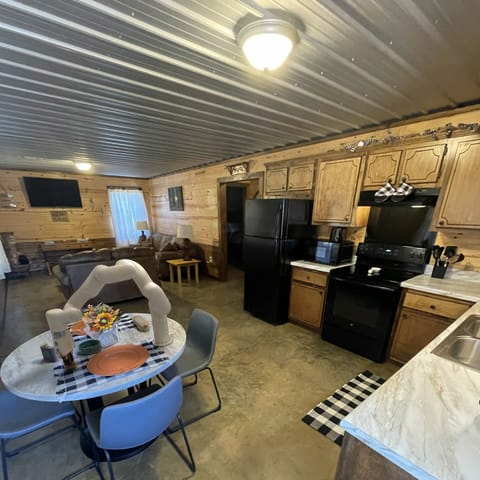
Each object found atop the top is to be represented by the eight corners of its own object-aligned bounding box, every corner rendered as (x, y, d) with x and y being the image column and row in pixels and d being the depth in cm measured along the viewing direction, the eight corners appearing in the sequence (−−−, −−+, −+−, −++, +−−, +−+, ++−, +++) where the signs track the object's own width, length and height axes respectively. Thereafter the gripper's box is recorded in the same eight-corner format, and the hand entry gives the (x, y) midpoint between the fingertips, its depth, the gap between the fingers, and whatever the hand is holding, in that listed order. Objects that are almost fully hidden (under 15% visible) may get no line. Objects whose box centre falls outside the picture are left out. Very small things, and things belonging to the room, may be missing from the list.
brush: (73, 365, 148) (69, 350, 144) (79, 368, 145) (74, 353, 141) (63, 370, 143) (58, 355, 140) (68, 373, 141) (64, 357, 137)
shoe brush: (151, 329, 191) (150, 323, 189) (141, 332, 187) (140, 326, 185) (141, 319, 209) (140, 313, 207) (131, 321, 205) (130, 316, 203)
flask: (59, 360, 153) (53, 343, 149) (54, 362, 150) (49, 346, 146) (46, 357, 155) (41, 341, 151) (42, 360, 153) (36, 344, 148)
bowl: (94, 343, 171) (92, 337, 170) (106, 348, 165) (104, 342, 164) (75, 351, 162) (73, 345, 160) (87, 357, 156) (85, 350, 154)
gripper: (57, 339, 128) (66, 371, 135) (76, 326, 143) (84, 355, 150) (42, 339, 128) (52, 371, 135) (63, 326, 143) (71, 355, 150)
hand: (69, 362), depth 143 cm, fingers closed on brush, 2 cm apart
